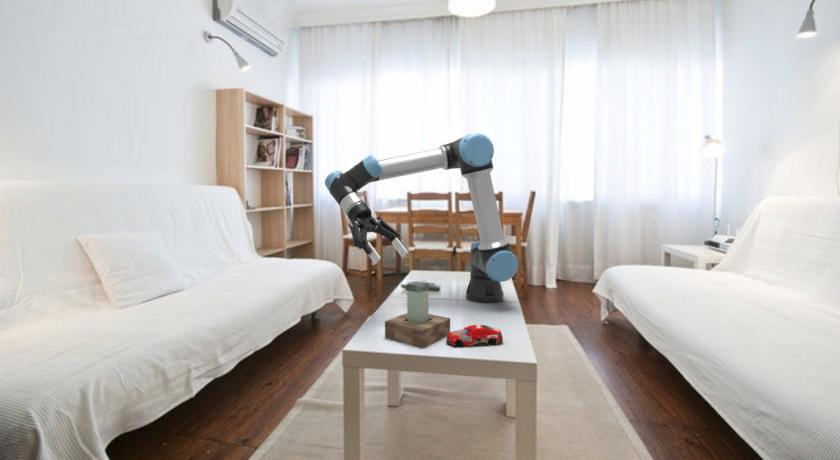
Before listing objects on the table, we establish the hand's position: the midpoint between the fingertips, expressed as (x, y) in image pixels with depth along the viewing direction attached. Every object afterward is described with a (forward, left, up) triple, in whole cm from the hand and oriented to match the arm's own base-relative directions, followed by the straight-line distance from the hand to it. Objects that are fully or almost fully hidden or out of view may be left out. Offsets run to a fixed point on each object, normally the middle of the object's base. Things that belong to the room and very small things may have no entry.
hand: (392, 258), depth 133 cm
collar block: (+2, +12, -22) cm, 25 cm away
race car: (-3, +28, -23) cm, 36 cm away
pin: (+2, +12, -22) cm, 25 cm away
